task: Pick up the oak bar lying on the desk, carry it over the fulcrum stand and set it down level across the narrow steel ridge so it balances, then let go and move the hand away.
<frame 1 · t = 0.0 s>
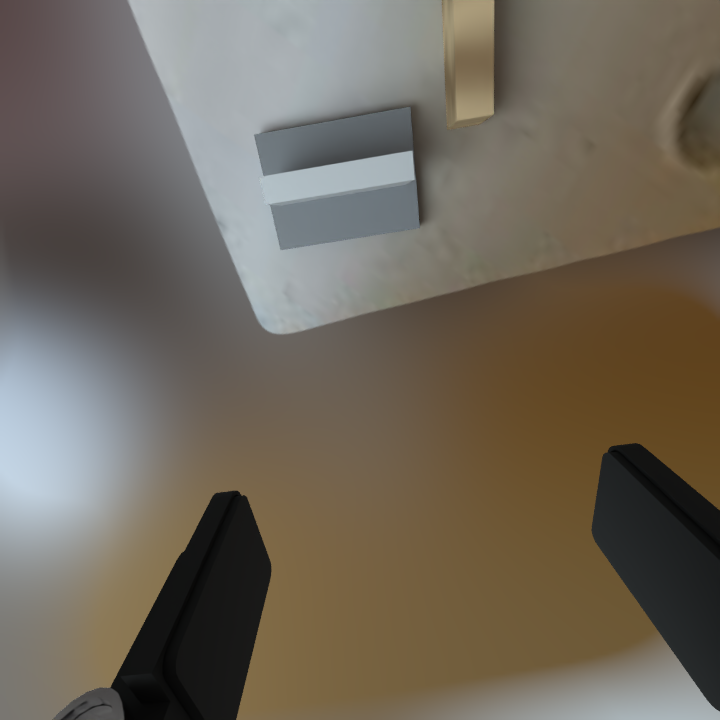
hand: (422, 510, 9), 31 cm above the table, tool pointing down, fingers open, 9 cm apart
fulcrum: (341, 184, 34), on the table
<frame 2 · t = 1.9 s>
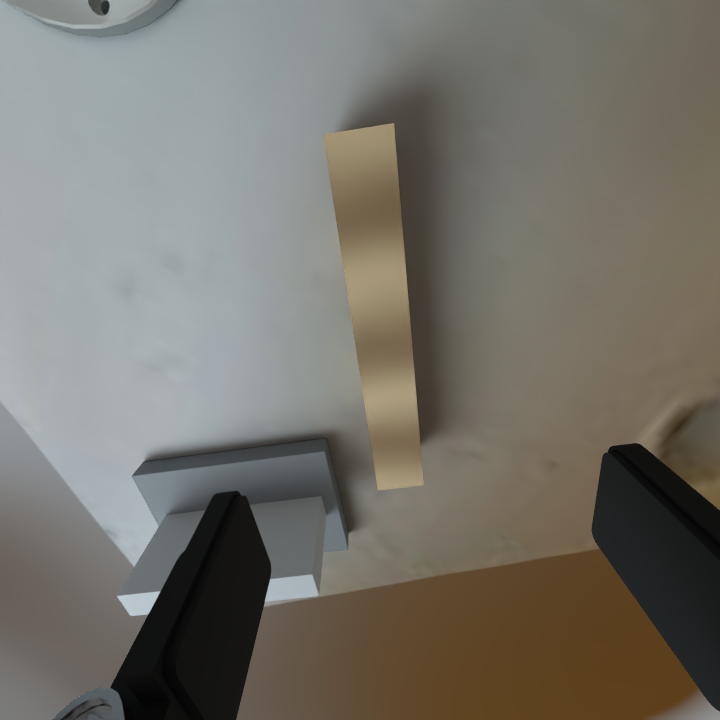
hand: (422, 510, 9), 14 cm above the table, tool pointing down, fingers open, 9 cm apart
fulcrum: (252, 499, 28), on the table
rod: (379, 323, 22), on the table
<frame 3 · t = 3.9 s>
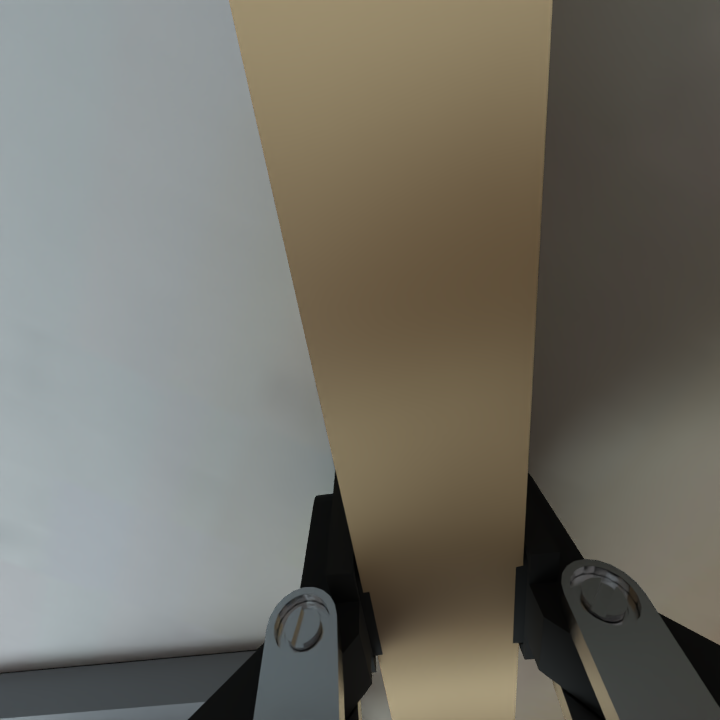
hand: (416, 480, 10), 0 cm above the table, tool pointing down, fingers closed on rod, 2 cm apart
rod: (414, 472, 11), on the table, touching gripper
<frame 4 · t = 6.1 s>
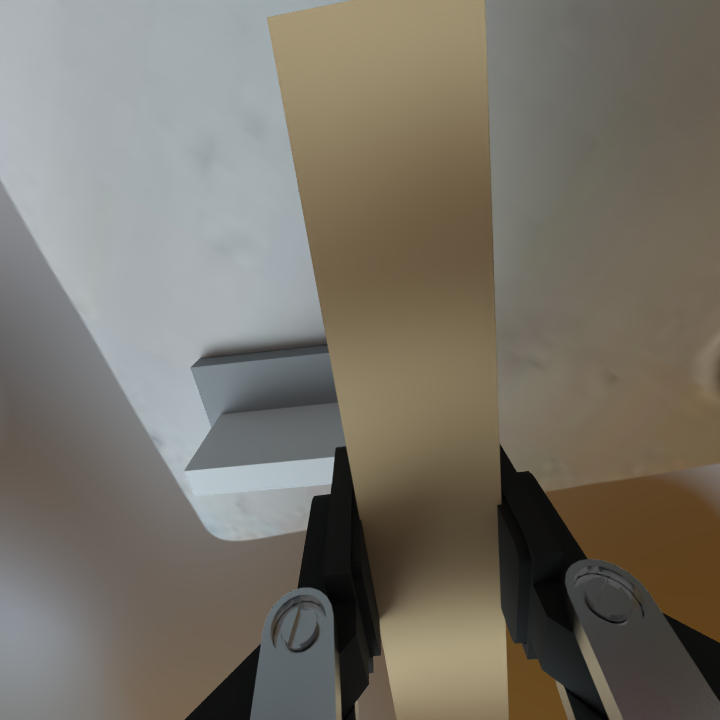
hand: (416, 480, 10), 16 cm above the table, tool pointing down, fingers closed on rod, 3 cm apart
fulcrum: (305, 406, 28), on the table
rod: (412, 456, 12), point 14 cm above the table, tilted 7°, touching gripper
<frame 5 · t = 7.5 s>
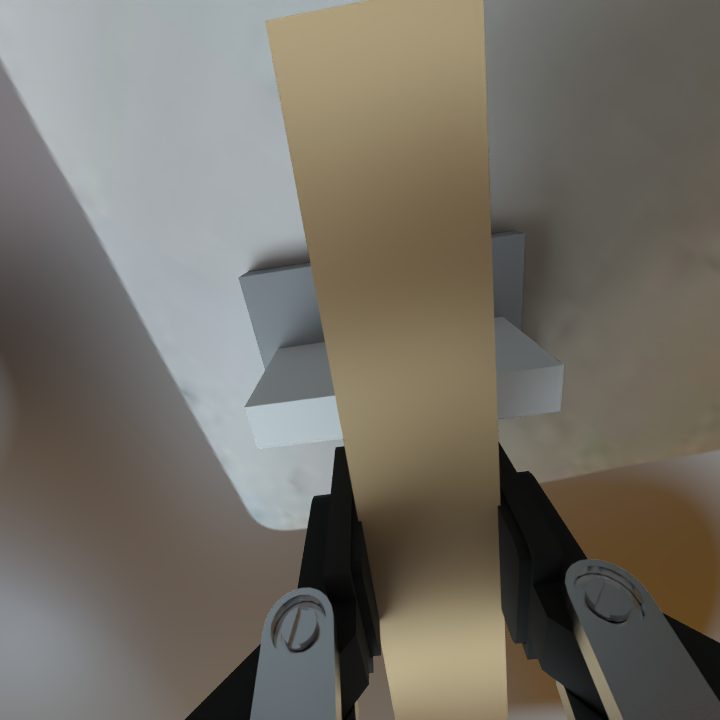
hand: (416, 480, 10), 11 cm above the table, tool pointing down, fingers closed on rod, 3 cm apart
fulcrum: (388, 340, 20), on the table
rod: (411, 458, 12), point 10 cm above the table, tilted 6°, touching gripper
when the fingers open (9 cm above the table, at t = 8.5 s): rod stays where it is, resting on fulcrum.
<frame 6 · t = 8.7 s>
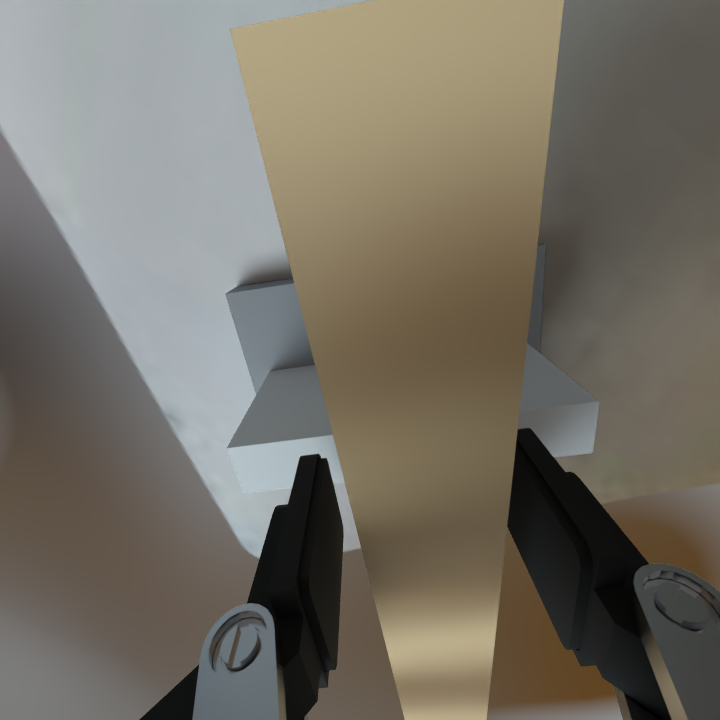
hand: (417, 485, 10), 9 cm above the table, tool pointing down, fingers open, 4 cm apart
fulcrum: (391, 360, 19), on the table
rod: (411, 457, 12), point 8 cm above the table, tilted 7°, touching fulcrum
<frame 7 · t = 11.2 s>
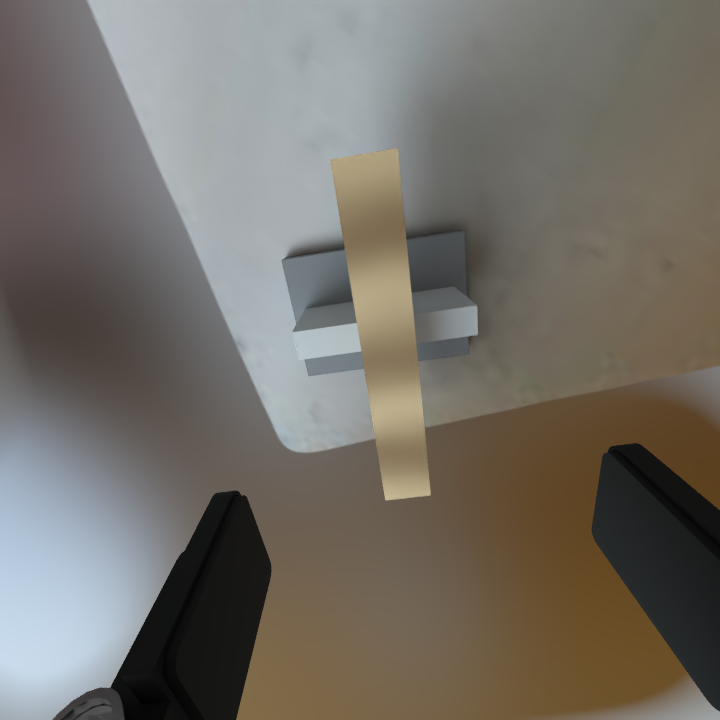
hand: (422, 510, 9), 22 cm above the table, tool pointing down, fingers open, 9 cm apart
fulcrum: (379, 305, 30), on the table
rod: (385, 336, 23), point 8 cm above the table, touching fulcrum
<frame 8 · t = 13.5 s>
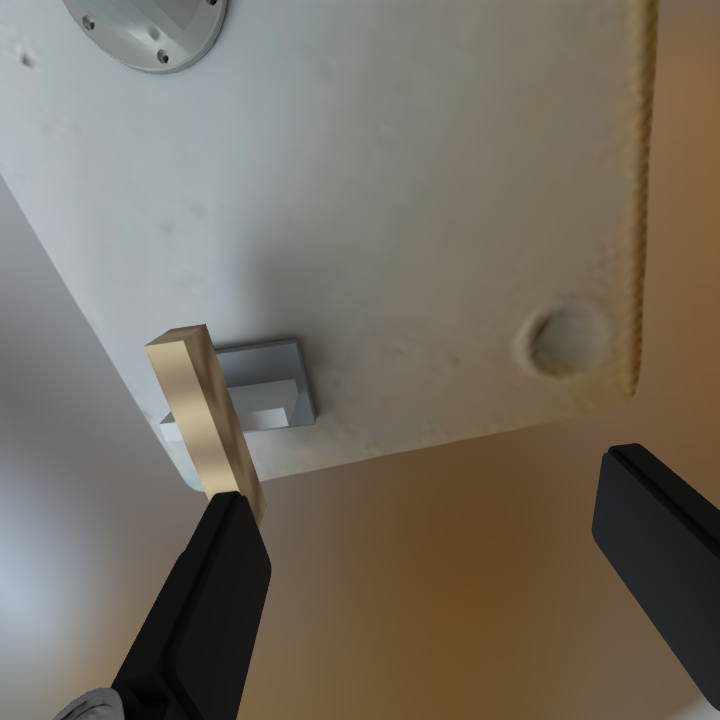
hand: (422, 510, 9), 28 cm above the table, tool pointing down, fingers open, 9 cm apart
fulcrum: (247, 387, 40), on the table
rod: (224, 426, 33), point 7 cm above the table, touching fulcrum
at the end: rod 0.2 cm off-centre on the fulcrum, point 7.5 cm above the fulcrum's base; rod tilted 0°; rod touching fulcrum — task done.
